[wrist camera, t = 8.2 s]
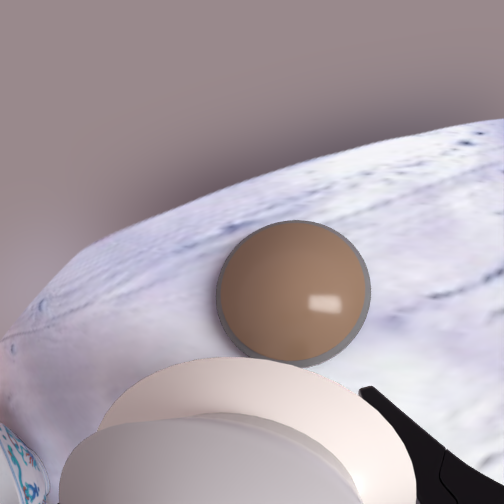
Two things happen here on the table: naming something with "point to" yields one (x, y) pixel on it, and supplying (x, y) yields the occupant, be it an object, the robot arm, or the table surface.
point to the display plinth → (293, 293)
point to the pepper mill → (239, 441)
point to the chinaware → (20, 472)
